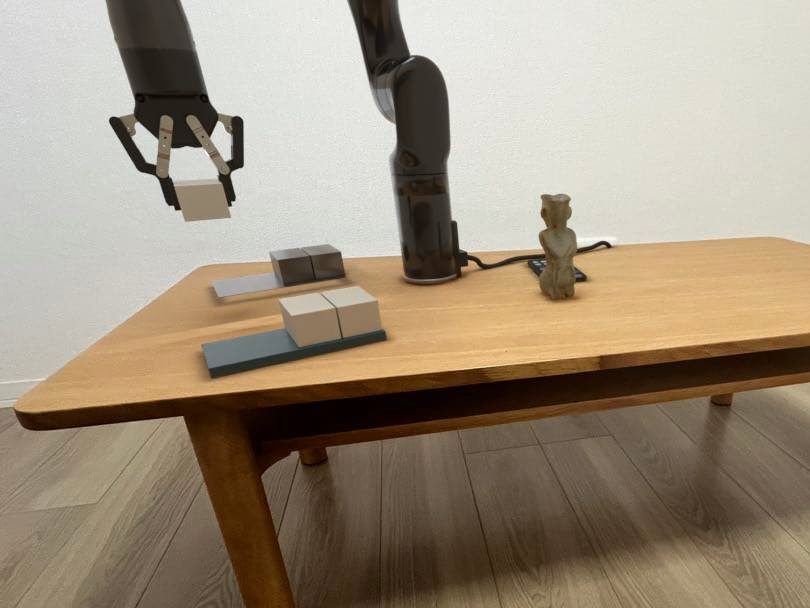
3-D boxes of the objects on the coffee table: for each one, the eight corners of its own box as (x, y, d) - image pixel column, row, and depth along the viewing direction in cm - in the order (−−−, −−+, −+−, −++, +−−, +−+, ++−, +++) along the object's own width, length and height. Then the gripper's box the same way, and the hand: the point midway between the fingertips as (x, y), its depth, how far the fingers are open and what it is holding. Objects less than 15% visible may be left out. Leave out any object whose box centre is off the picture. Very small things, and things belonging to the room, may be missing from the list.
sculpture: (567, 287, 89) (568, 190, 82) (582, 299, 83) (585, 196, 76) (534, 290, 88) (532, 192, 81) (546, 303, 82) (545, 198, 74)
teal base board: (365, 321, 76) (358, 284, 73) (387, 339, 69) (380, 300, 67) (204, 353, 66) (190, 312, 64) (211, 378, 59) (196, 334, 57)
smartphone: (546, 280, 90) (525, 260, 103) (546, 284, 91) (526, 263, 103) (588, 276, 92) (562, 257, 105) (588, 280, 92) (562, 260, 105)
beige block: (225, 210, 73) (216, 178, 71) (231, 217, 67) (222, 183, 65) (182, 213, 70) (172, 180, 69) (185, 221, 64) (174, 186, 63)
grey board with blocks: (331, 270, 102) (325, 242, 100) (350, 284, 93) (344, 253, 91) (212, 287, 92) (203, 257, 90) (220, 305, 84) (210, 271, 81)
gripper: (74, 40, 54) (135, 217, 62) (232, 47, 61) (270, 206, 69) (81, 48, 60) (137, 209, 68) (226, 54, 66) (261, 200, 74)
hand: (204, 207), depth 68 cm, fingers closed on beige block, 5 cm apart
